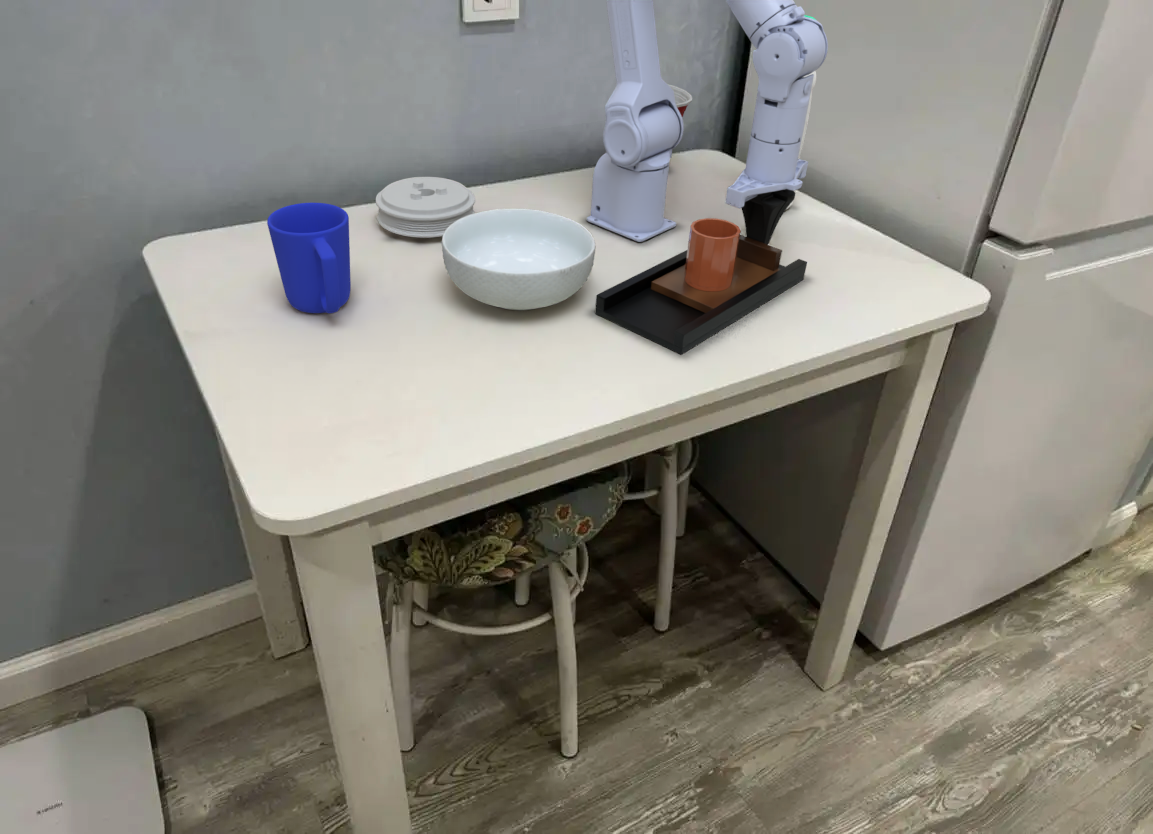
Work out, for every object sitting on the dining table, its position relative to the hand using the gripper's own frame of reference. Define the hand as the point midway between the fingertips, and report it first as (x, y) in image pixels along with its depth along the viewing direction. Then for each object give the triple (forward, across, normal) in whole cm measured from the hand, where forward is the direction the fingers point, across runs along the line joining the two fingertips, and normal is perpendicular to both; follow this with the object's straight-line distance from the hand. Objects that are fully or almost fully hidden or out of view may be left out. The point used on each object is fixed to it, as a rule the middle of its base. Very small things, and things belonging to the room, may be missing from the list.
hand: (756, 246), depth 109 cm
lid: (+3, -21, +37) cm, 43 cm away
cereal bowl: (+3, -26, +15) cm, 30 cm away
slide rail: (+3, -10, 0) cm, 11 cm away
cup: (+1, -10, 0) cm, 10 cm away
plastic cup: (+3, +17, +30) cm, 35 cm away
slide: (+2, -8, 0) cm, 8 cm away
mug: (+3, -44, +27) cm, 52 cm away
